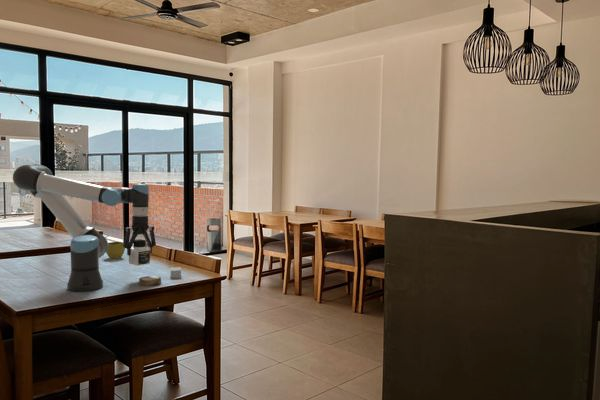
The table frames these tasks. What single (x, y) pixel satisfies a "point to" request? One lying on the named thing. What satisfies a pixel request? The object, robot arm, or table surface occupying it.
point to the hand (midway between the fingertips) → (139, 260)
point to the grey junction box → (176, 272)
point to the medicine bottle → (140, 253)
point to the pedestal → (150, 281)
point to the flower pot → (115, 249)
